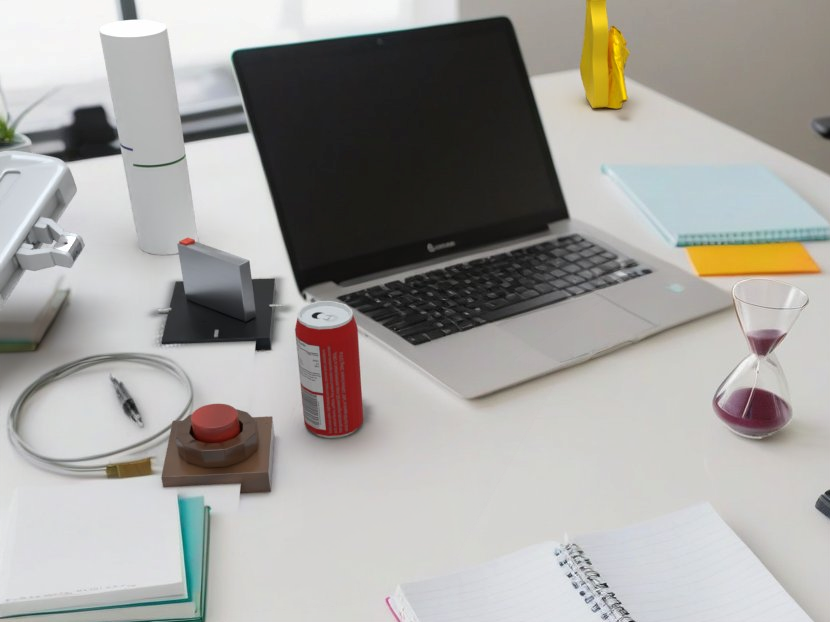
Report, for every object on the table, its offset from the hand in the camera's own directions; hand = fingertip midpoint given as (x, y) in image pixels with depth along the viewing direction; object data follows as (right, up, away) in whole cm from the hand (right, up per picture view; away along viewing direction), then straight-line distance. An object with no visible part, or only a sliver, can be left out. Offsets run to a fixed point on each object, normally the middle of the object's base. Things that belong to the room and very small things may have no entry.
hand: (77, 251), depth 110 cm
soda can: (+25, -17, -1) cm, 30 cm away
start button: (+16, -18, -9) cm, 25 cm away
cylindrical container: (0, +8, +31) cm, 32 cm away
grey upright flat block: (+10, -3, +14) cm, 18 cm away
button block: (+16, -21, -7) cm, 27 cm away
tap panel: (+10, -4, +15) cm, 19 cm away
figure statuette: (+56, +42, +78) cm, 105 cm away
